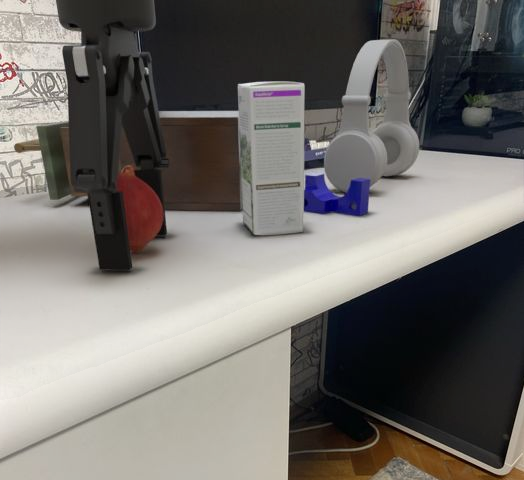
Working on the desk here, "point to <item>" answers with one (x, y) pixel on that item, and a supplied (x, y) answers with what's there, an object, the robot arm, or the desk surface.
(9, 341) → the desk surface
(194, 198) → the cabinet
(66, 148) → the drawer
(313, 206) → the cable holder
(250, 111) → the syrup box
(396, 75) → the headphones
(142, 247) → the onion
